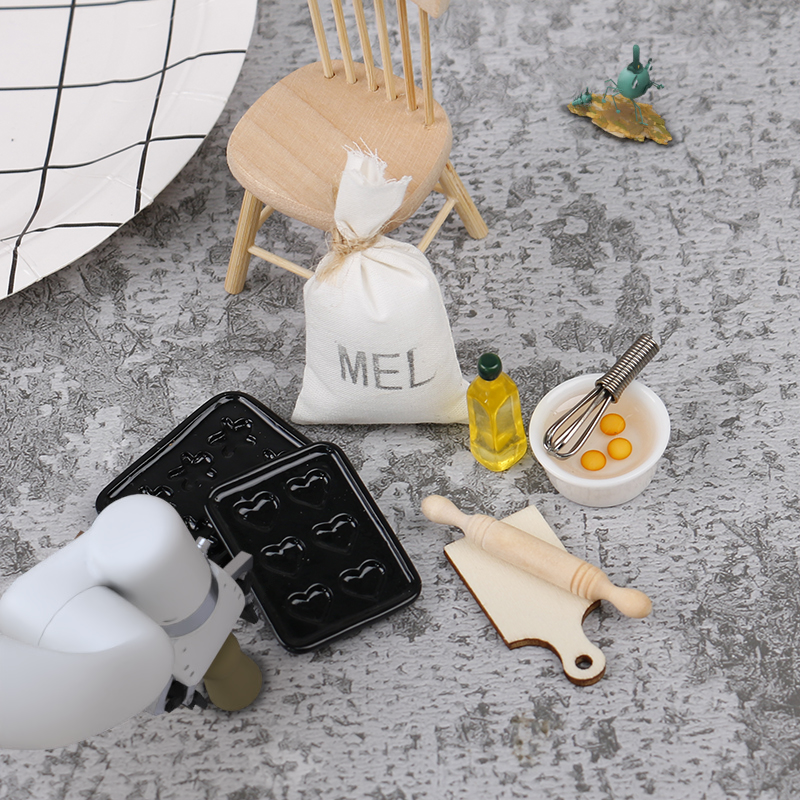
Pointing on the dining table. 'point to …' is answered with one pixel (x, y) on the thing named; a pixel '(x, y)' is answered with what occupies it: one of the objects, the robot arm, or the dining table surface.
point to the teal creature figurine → (625, 105)
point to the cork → (232, 677)
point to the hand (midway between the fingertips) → (220, 657)
